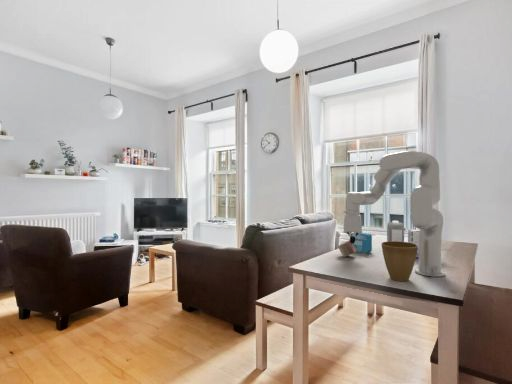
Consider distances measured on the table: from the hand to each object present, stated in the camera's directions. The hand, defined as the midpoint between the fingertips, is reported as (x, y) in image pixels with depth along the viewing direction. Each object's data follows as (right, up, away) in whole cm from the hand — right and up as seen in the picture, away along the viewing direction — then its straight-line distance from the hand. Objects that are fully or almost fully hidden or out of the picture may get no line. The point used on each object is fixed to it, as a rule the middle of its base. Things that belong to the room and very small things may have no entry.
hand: (352, 243), depth 178 cm
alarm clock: (+32, -8, +14) cm, 36 cm away
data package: (+11, -8, +15) cm, 20 cm away
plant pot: (+7, -9, -42) cm, 44 cm away
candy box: (+41, -9, -1) cm, 41 cm away
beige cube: (0, -2, 0) cm, 2 cm away
